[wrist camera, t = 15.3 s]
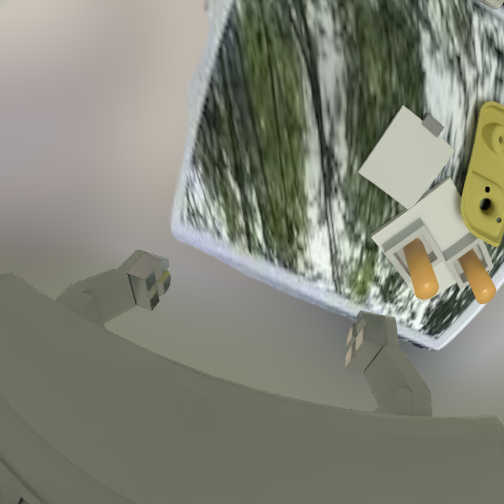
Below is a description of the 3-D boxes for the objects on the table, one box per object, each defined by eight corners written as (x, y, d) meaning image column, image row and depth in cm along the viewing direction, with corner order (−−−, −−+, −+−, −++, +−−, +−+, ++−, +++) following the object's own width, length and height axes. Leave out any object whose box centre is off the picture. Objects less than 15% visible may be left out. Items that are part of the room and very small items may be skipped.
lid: (406, 97, 28) (408, 97, 27) (457, 142, 28) (460, 143, 27) (357, 170, 36) (358, 172, 35) (408, 208, 36) (410, 211, 35)
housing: (447, 175, 31) (478, 205, 22) (487, 255, 35) (510, 296, 26) (370, 234, 40) (377, 277, 32) (420, 300, 44) (430, 345, 35)
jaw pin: (417, 233, 37) (433, 274, 29) (426, 249, 37) (442, 291, 30) (399, 245, 39) (410, 288, 31) (409, 260, 40) (421, 303, 32)
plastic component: (482, 95, 21) (539, 125, 16) (478, 104, 26) (527, 129, 21) (451, 224, 31) (503, 252, 26) (452, 213, 36) (497, 238, 31)
